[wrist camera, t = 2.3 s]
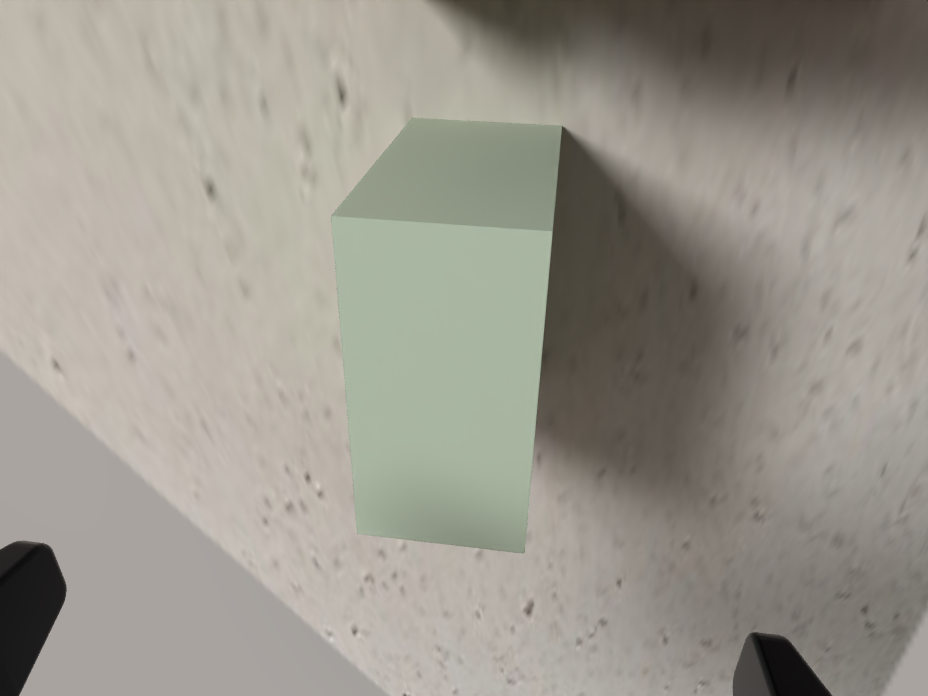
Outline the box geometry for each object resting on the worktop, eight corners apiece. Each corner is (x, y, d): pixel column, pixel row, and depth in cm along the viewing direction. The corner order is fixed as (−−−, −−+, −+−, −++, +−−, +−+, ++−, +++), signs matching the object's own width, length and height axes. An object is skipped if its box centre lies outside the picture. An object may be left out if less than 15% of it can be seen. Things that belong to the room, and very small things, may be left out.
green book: (561, 125, 17) (552, 231, 11) (539, 378, 20) (524, 553, 15) (412, 117, 17) (330, 216, 11) (417, 367, 21) (356, 533, 15)
